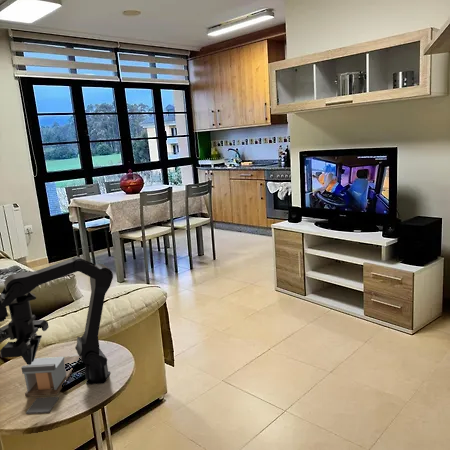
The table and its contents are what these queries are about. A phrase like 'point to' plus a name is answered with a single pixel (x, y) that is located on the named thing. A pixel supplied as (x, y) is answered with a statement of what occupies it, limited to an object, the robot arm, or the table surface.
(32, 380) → the cover
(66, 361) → the puzzle board
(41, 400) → the mat
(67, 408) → the table surface
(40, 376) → the block
